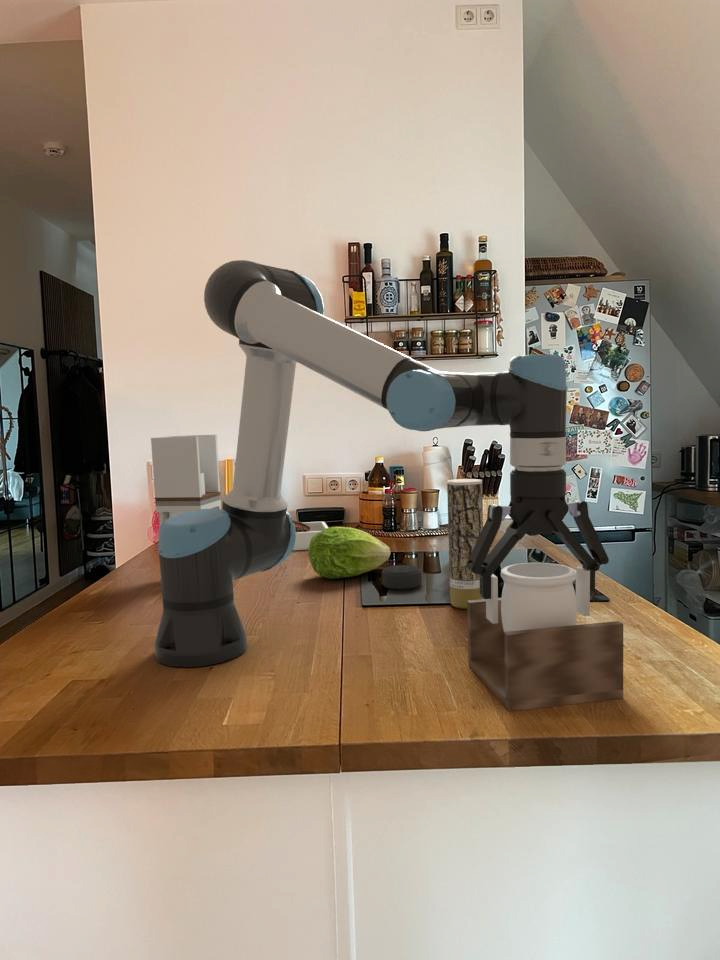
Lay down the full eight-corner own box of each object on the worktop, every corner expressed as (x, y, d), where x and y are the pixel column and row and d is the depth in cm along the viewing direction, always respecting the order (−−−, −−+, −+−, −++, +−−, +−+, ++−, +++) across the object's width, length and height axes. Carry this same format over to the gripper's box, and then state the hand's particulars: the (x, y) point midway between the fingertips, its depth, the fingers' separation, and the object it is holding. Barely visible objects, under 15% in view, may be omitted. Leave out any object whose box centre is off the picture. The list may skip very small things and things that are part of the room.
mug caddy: (276, 551, 197) (275, 534, 196) (273, 540, 215) (272, 524, 214) (331, 547, 199) (330, 530, 199) (324, 536, 217) (323, 521, 217)
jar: (522, 654, 105) (521, 558, 104) (588, 668, 99) (588, 566, 97) (488, 676, 97) (486, 573, 96) (558, 693, 91) (557, 582, 89)
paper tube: (484, 610, 133) (481, 482, 130) (449, 609, 134) (445, 482, 132) (485, 600, 139) (482, 478, 137) (451, 600, 141) (448, 479, 138)
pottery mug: (272, 545, 209) (280, 520, 212) (300, 556, 212) (308, 531, 215) (284, 541, 198) (293, 515, 201) (313, 552, 201) (321, 526, 204)
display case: (161, 586, 161) (150, 437, 158) (183, 575, 172) (173, 435, 168) (205, 587, 159) (196, 436, 155) (225, 576, 169) (216, 434, 165)
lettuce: (411, 549, 165) (383, 514, 174) (336, 552, 152) (310, 514, 161) (390, 589, 171) (365, 552, 180) (316, 595, 158) (292, 556, 167)
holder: (509, 711, 89) (507, 634, 88) (468, 665, 105) (467, 600, 104) (623, 698, 91) (623, 623, 90) (566, 655, 107) (566, 592, 106)
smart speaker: (399, 593, 148) (398, 575, 147) (374, 586, 155) (373, 568, 155) (430, 586, 153) (429, 568, 153) (404, 579, 160) (403, 562, 160)
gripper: (459, 474, 89) (461, 632, 92) (635, 466, 93) (633, 617, 96) (443, 469, 97) (445, 615, 99) (607, 462, 101) (605, 603, 103)
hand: (537, 617), depth 97 cm, fingers open, 13 cm apart
